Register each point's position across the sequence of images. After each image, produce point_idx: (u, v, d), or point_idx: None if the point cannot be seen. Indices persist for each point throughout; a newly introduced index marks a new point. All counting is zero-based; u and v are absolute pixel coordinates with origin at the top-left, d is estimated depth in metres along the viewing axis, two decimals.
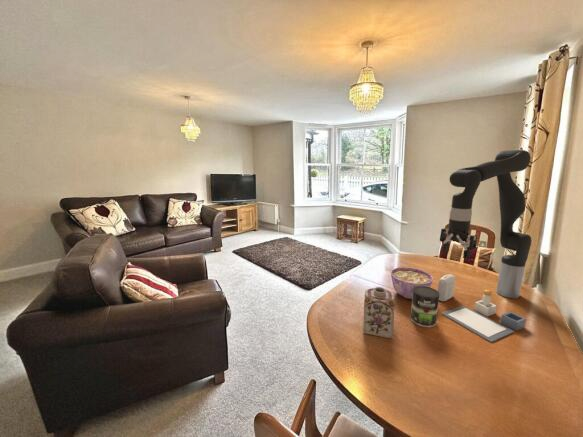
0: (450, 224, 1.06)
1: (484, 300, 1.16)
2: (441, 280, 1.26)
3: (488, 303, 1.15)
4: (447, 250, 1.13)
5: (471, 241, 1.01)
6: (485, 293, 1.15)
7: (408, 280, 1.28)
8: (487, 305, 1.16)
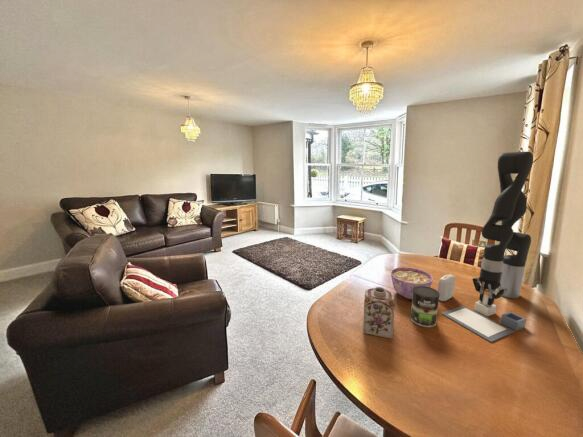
0: (482, 273, 1.14)
1: (484, 300, 1.16)
2: (441, 280, 1.26)
3: None
4: None
5: (499, 293, 1.10)
6: (485, 293, 1.15)
7: (408, 280, 1.28)
8: (487, 305, 1.16)
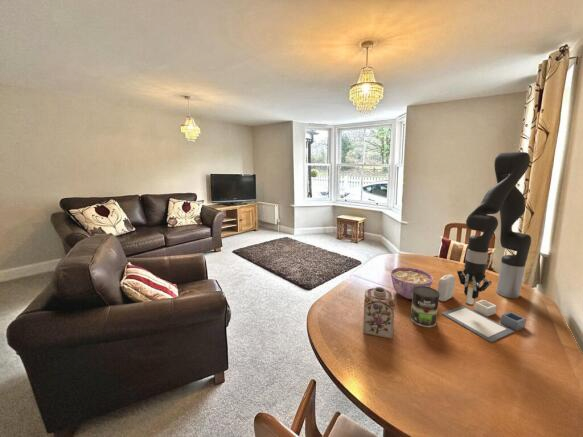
0: (466, 265, 1.10)
1: (469, 293, 1.12)
2: (441, 280, 1.26)
3: None
4: None
5: (484, 286, 1.06)
6: (470, 286, 1.11)
7: (408, 280, 1.28)
8: (472, 298, 1.12)
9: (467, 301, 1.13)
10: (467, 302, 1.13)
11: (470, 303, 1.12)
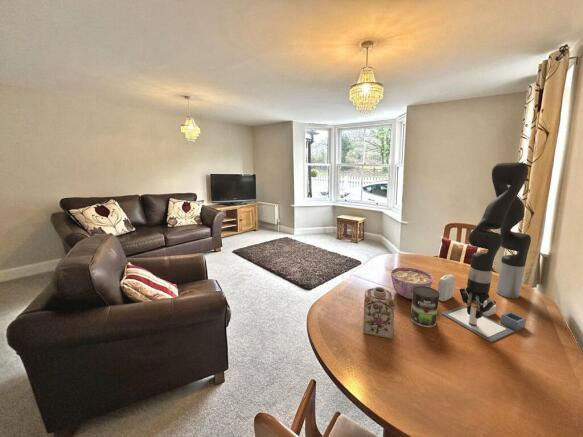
0: (469, 284, 1.04)
1: (472, 313, 1.06)
2: (441, 280, 1.26)
3: None
4: None
5: (488, 306, 1.00)
6: (473, 305, 1.06)
7: (408, 280, 1.28)
8: (475, 318, 1.06)
9: (470, 321, 1.07)
10: (470, 322, 1.07)
11: (473, 323, 1.06)
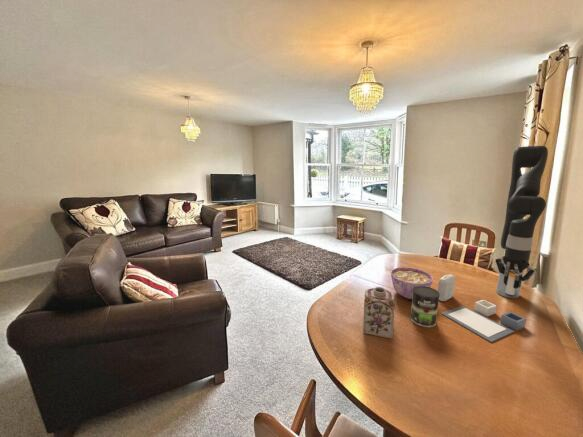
0: (507, 252, 1.00)
1: (510, 283, 1.03)
2: (441, 280, 1.26)
3: None
4: None
5: (528, 274, 0.97)
6: (511, 275, 1.02)
7: (408, 280, 1.28)
8: (513, 288, 1.02)
9: (507, 291, 1.04)
10: (507, 292, 1.04)
11: (511, 293, 1.03)
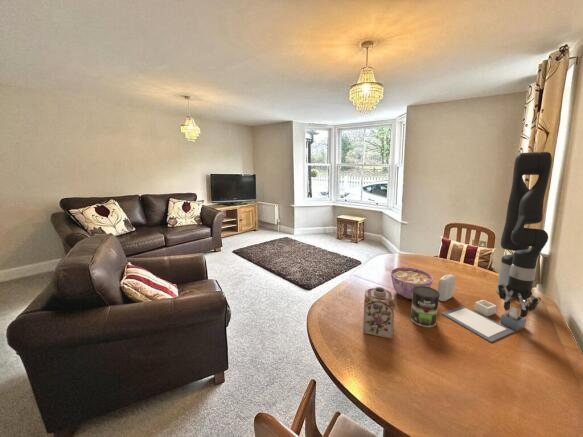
0: (511, 281, 1.03)
1: (512, 313, 1.06)
2: (441, 280, 1.26)
3: (516, 316, 1.06)
4: (508, 308, 1.09)
5: (533, 303, 0.99)
6: (513, 305, 1.05)
7: (408, 280, 1.28)
8: (515, 318, 1.06)
9: None
10: None
11: None
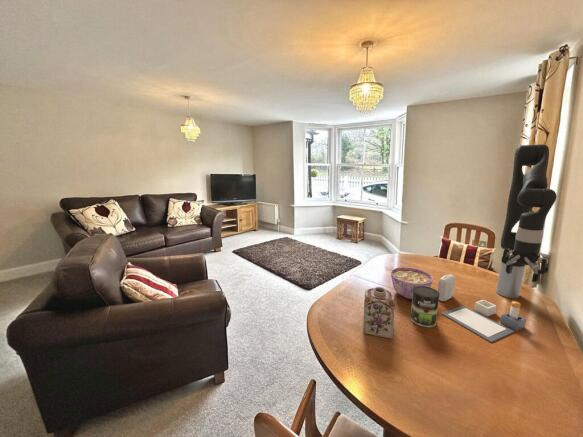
0: (517, 245, 1.00)
1: (512, 313, 1.06)
2: (441, 280, 1.26)
3: (517, 316, 1.06)
4: (510, 272, 1.07)
5: (543, 265, 0.95)
6: (513, 305, 1.05)
7: (408, 280, 1.28)
8: (515, 318, 1.06)
9: None
10: None
11: None
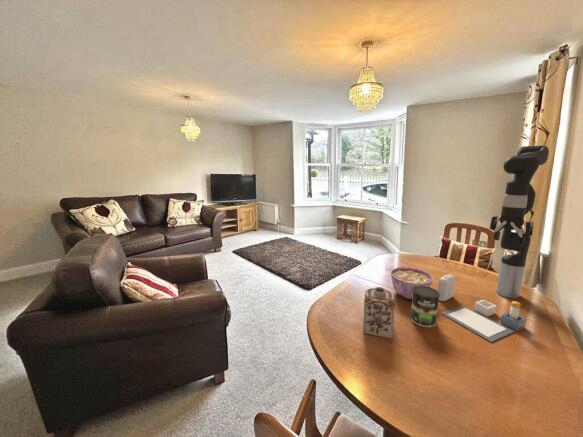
0: (504, 211, 1.06)
1: (512, 313, 1.06)
2: (441, 280, 1.26)
3: (517, 316, 1.06)
4: (498, 238, 1.12)
5: (528, 228, 1.01)
6: (513, 305, 1.05)
7: (408, 280, 1.28)
8: (515, 318, 1.06)
9: None
10: None
11: None
